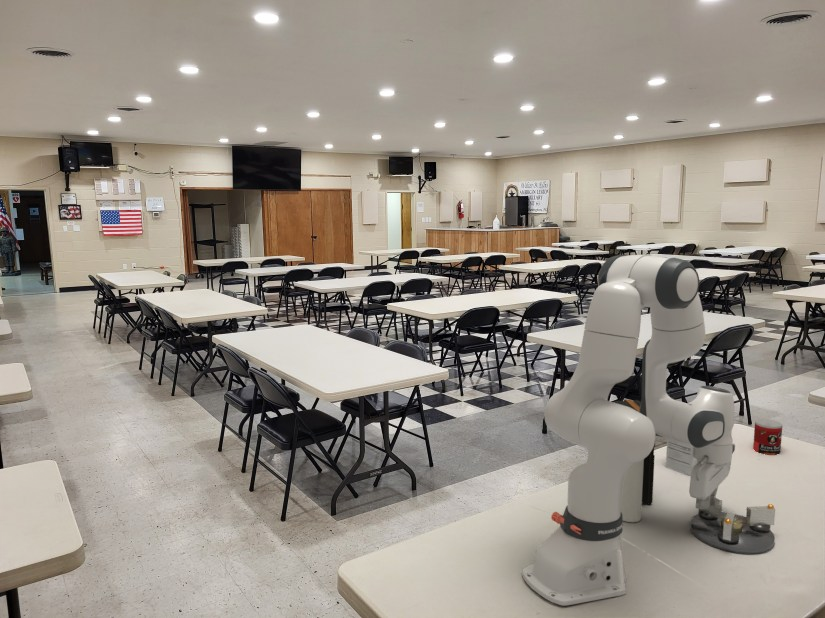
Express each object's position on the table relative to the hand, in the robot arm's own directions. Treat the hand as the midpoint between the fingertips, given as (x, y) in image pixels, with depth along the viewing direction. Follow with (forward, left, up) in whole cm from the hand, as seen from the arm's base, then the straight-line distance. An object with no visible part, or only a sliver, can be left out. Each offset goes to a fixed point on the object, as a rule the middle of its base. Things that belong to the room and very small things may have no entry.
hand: (708, 504), depth 155 cm
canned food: (+56, +22, -5) cm, 61 cm away
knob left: (0, 0, -3) cm, 3 cm away
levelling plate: (0, -7, -5) cm, 8 cm away
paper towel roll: (-15, +11, -5) cm, 19 cm away
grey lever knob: (+6, -10, -3) cm, 12 cm away
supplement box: (+23, +25, -5) cm, 35 cm away
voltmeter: (-4, +21, -5) cm, 22 cm away
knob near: (-6, -10, -3) cm, 12 cm away
